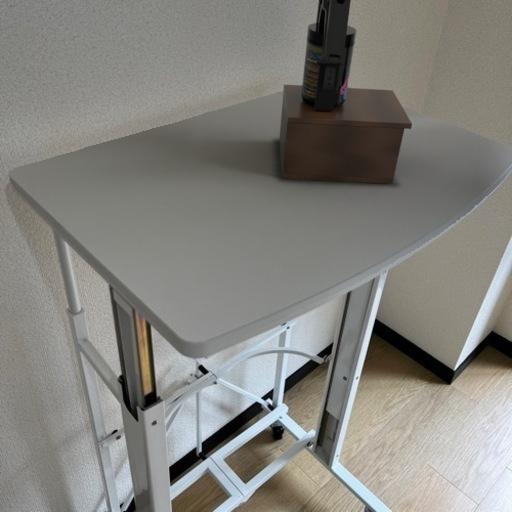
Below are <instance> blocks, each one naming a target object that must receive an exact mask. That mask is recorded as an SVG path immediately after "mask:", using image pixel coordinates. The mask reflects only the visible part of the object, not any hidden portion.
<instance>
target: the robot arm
mask: <svg viewBox="0 0 512 512" xmlns="http://www.w3.org/2000/svg"><path fill="white" fill-rule="evenodd" d="M351 1H352V0H318V3H317V12H316V19H315V23H321V22H322V23H324V36H323V49H322V58H321V60H316V65H319V71H318V80H317V88H316V97H315V105H314V110H324V111H333V110H334V103H335V96H336V89H337V82H338V75H339V68H340V65H342V64H343V62H344V50H345V42H346V34H347V26H349V17H350V9H351V3H352V2H351ZM330 54H334V55H330Z"/></svg>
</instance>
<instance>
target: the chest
mask: <svg viewBox="0 0 512 512" xmlns="http://www.w3.org/2000/svg"><path fill="white" fill-rule="evenodd" d="M281 103H282V105H281V117H280V128H279V141H278V142H279V155H280V165H281V167H280V168H281V178H282V179H283V180H299V181H300V180H304V181H323V182H342V183H343V182H344V183H345V182H346V183H367V184H386V185H387V184H389V185H392V184H393V183H394V182H393V181H394V179H395V174H396V173H395V172H396V168H397V165H398V160H399V156H400V152H401V148H402V147H401V146H402V141H403V137H404V132H405V129H403V128H383V127H364V126H344V125H325V124H306V123H288V122H287V115H286V106H285V97H284V89H283V92H282V101H281Z"/></svg>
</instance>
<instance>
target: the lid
mask: <svg viewBox="0 0 512 512" xmlns="http://www.w3.org/2000/svg"><path fill="white" fill-rule="evenodd" d="M283 90H284V97H285V106H286V115H287V122H288V123H306V124H325V125H344V126H364V127H383V128H403V129H404V130H405V129H407V130H411V129H412V126H413V123H412V120H411V119H410V117H409V116H408V114H407V112H406V111H405V108H404V107H403V105H402V104H401V102H400V100H399V99H398V97H397V95H396V93H395V92H394V90H393V89H375V88H374V89H372V88H358V87H357V88H356V87H347V94H346V100H345V102H344V103H343V104H342V105H341V106H340V107H337V108H334V110H333V111H324V110H314V107H313V106H310V105H308V104H306V103H305V102H304V101H303V100H302V97H301V92H302V84H301V85H300V84H283Z"/></svg>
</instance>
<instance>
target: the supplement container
mask: <svg viewBox="0 0 512 512" xmlns="http://www.w3.org/2000/svg"><path fill="white" fill-rule="evenodd" d="M306 33H307V34H306V35H307V36H306V46H305V53H304V54H305V55H304V66H303V76H302V83H301V85H302V92H301V97H302V100H303V101H304V102H305V103H306V104H308V105H310V106H313V107H314V105H315V97H316V88H317V80H318V71H319V65H316V60H321V58H322V49H323V36H324V23H322V22H321V23H316V22H313V23H310V24H308V25H307V32H306ZM356 36H357V29H356V28H355V27H353V26H351V25H348V26H347V34H346V42H345V50H344V62H343V64H342V65H340V68H339V75H338V82H337V89H336V96H335V103H334V108H337V107H340V106H341V105H342V104H343V103H344V102H345V100H346V94H347V88H349V87H348V86H349V81H350V74H351V69H352V68H351V67H352V60H353V54H354V47H355V44H356ZM330 55H334V54H330Z"/></svg>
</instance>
